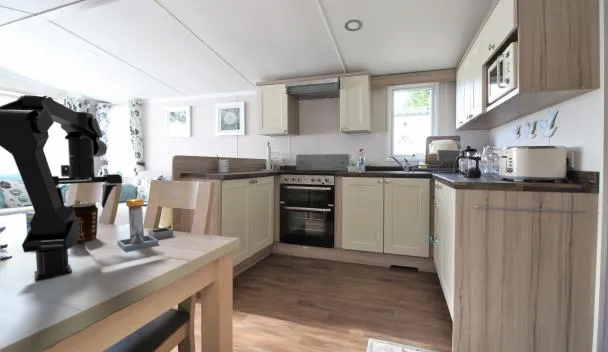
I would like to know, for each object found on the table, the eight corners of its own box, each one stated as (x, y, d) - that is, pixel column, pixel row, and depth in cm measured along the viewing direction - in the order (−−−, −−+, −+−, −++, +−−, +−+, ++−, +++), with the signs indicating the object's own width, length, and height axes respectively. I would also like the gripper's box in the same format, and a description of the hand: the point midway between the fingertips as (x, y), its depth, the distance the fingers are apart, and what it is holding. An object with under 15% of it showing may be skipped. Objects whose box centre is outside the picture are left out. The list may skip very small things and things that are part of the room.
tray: (158, 248, 87) (158, 240, 87) (124, 255, 81) (124, 246, 81) (149, 242, 93) (149, 235, 93) (117, 248, 87) (117, 240, 87)
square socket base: (180, 238, 98) (180, 229, 97) (155, 243, 92) (155, 234, 92) (170, 234, 104) (170, 225, 104) (147, 238, 98) (146, 229, 98)
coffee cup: (72, 241, 95) (70, 203, 95) (102, 238, 99) (100, 202, 98) (63, 248, 87) (61, 207, 87) (96, 245, 91) (94, 205, 90)
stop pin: (148, 246, 87) (145, 200, 86) (131, 249, 84) (128, 201, 83) (143, 243, 90) (141, 198, 89) (127, 246, 87) (124, 200, 86)
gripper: (113, 157, 94) (115, 203, 95) (36, 156, 81) (39, 210, 82) (121, 156, 86) (123, 206, 87) (37, 155, 73) (41, 215, 74)
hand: (84, 209), depth 83 cm, fingers open, 9 cm apart
